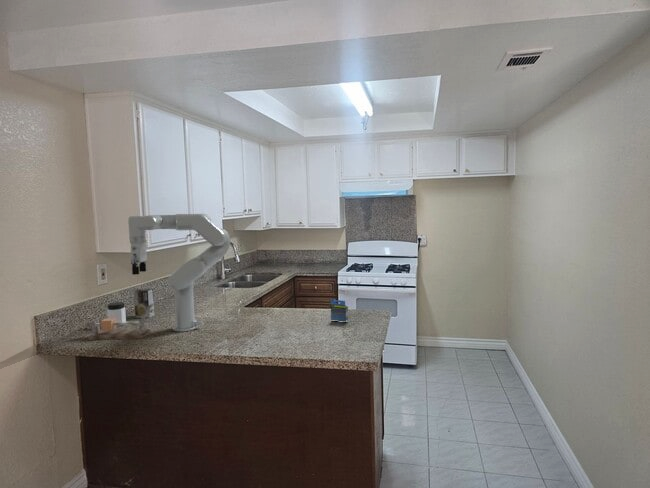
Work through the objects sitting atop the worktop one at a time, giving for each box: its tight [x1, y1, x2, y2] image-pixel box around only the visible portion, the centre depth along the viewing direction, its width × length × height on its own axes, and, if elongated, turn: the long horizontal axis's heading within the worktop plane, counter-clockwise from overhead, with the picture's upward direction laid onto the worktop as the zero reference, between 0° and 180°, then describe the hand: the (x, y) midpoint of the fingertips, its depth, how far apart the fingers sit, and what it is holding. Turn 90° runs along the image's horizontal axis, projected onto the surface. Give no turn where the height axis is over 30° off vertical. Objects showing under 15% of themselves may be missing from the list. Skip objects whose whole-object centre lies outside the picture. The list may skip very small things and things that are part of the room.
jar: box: [106, 301, 127, 328], centre depth 231 cm, size 9×8×12 cm
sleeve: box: [100, 317, 117, 331], centre depth 210 cm, size 5×5×5 cm
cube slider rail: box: [86, 318, 151, 341], centre depth 211 cm, size 28×10×8 cm, turn 94°
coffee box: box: [133, 288, 156, 319], centre depth 248 cm, size 9×6×16 cm
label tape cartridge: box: [330, 299, 349, 321], centre depth 229 cm, size 9×4×12 cm, turn 65°
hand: (139, 272), depth 218 cm, fingers open, 9 cm apart
